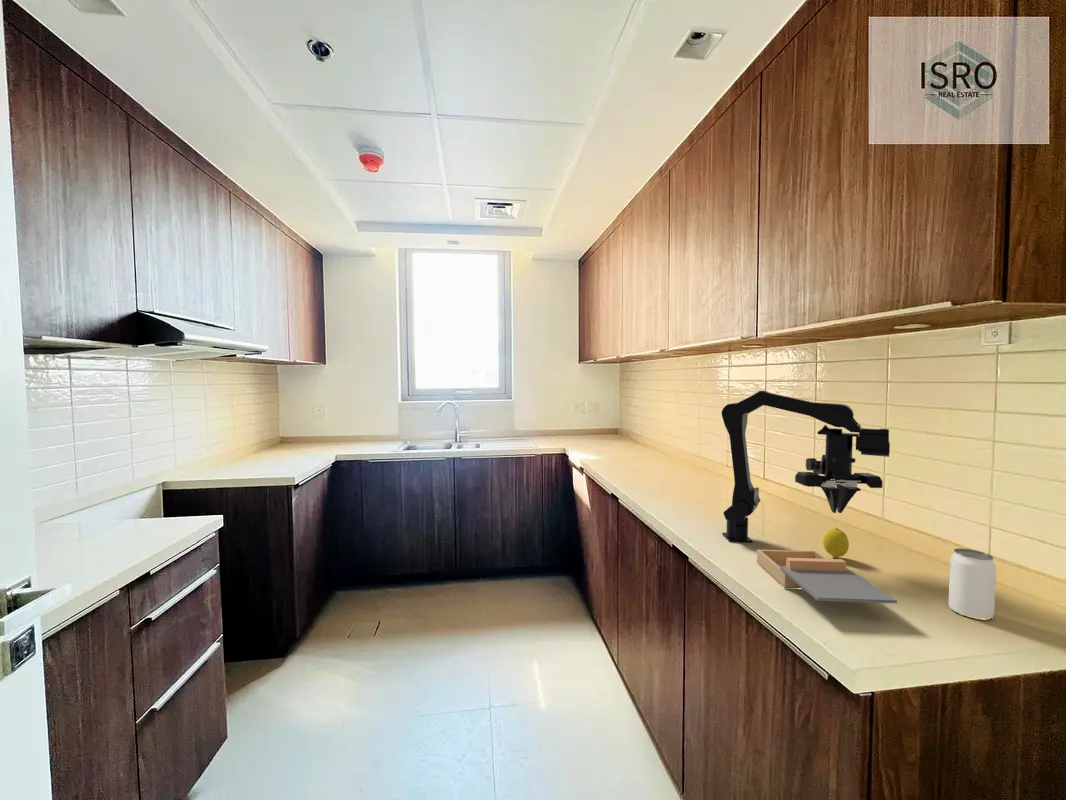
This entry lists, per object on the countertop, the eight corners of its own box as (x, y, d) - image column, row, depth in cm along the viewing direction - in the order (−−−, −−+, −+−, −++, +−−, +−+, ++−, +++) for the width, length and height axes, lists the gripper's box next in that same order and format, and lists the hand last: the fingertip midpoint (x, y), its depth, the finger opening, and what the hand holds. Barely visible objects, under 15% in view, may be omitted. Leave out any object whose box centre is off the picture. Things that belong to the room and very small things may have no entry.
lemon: (829, 552, 120) (831, 523, 120) (852, 559, 116) (853, 529, 115) (818, 556, 118) (819, 526, 118) (840, 563, 113) (842, 532, 113)
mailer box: (756, 563, 113) (757, 549, 113) (814, 564, 112) (814, 551, 112) (784, 588, 99) (784, 573, 99) (850, 591, 98) (850, 575, 98)
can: (1000, 624, 85) (1004, 562, 84) (956, 616, 88) (959, 556, 87) (984, 609, 91) (986, 550, 90) (942, 602, 94) (945, 545, 93)
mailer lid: (780, 568, 101) (780, 557, 100) (847, 570, 100) (848, 559, 100) (817, 600, 86) (817, 587, 86) (896, 603, 85) (897, 589, 85)
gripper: (856, 448, 123) (854, 505, 123) (785, 447, 124) (784, 503, 125) (885, 455, 112) (882, 517, 112) (807, 454, 113) (805, 515, 114)
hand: (836, 512), depth 116 cm, fingers closed
